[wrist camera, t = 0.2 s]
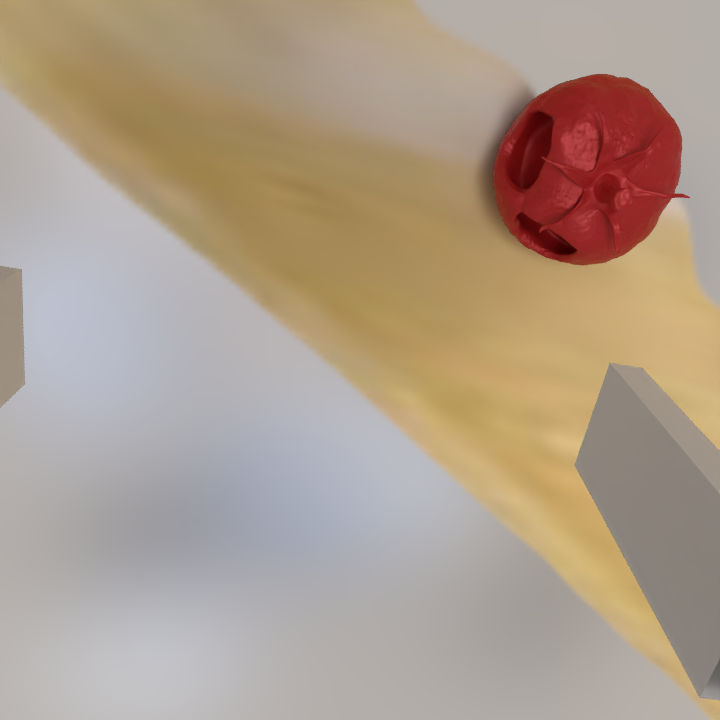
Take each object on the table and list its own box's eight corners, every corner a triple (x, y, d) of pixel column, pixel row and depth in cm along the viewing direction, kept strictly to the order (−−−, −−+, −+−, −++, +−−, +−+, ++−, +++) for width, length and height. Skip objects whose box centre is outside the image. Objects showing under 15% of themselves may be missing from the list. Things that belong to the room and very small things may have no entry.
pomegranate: (641, 56, 38) (727, 48, 30) (654, 228, 42) (734, 265, 34) (468, 100, 39) (504, 105, 31) (496, 265, 43) (535, 312, 34)
